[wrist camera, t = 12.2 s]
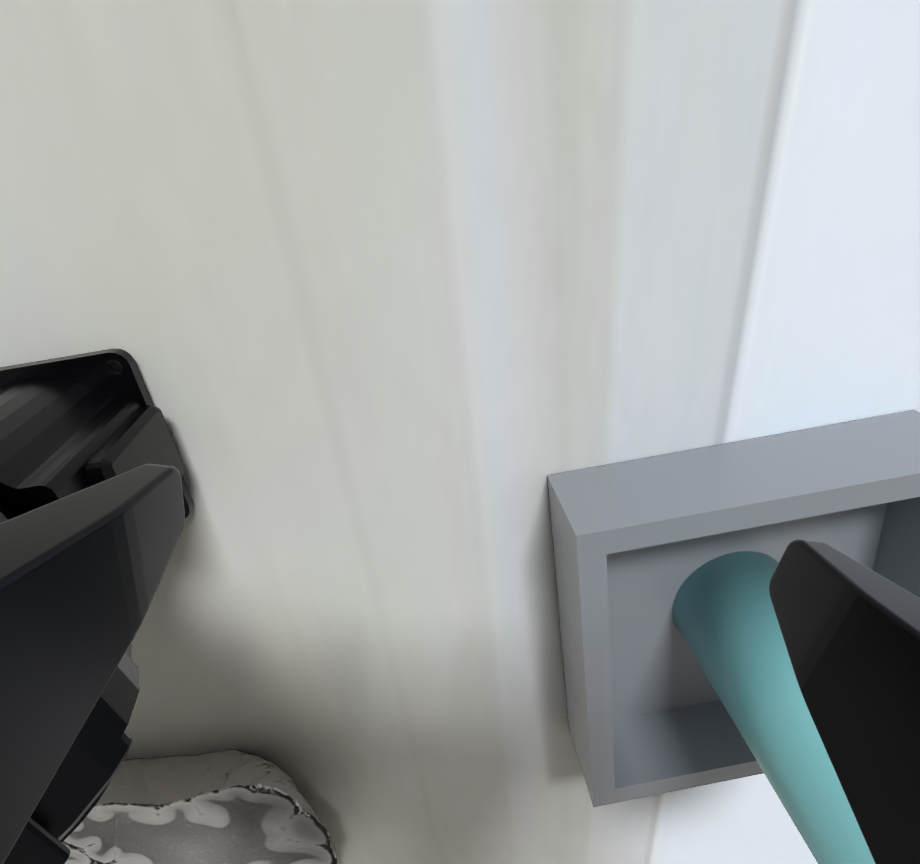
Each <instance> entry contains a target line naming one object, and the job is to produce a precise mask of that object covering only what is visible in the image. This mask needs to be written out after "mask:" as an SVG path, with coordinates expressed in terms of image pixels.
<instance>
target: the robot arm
mask: <svg viewBox="0 0 920 864" xmlns="http://www.w3.org/2000/svg"><path fill="white" fill-rule="evenodd" d="M111 360H116V361H118V362H120V364H121V365H122V368H123V371H120V370H116V369H115V368H113V366H112V365H111ZM184 472H185V468H184V466H183V463H182V461H181V458H180V456H179V453H178V451H177V448H176V446H175V444H174V441H173V439H172V436H171V434H170V431H169V429H168V426H167V424H166V421H165V419H164V417H163V414H162V412H161V410H160V409H159V408H157V407H156V406H154V405H153V404H152V402H151V399H150V397H149V394H148V392H147V389H146V387H145V385H144V382H143V380H142V377H141V375H140V373H139V370H138V368H137V365H136V363H135V360H134V359H133V357H132V356H131V355H130V354H129V353H128V352H126V351H124V350H121V349H108V350H102V351H96V352H91V353H85V354H79V355H73V356H67V357H61V358H55V359H49V360H43V361H37V362H31V363H25V364H19V365H13V366H7V367H1V368H0V864H65V862H66V861H67V859H68V857H69V856H70V849H69V848H68V847H67V846H66V845H65V844H64V843H62V842H63V841H64V840H65V839H66V838H67V837H68V836H69V835H70V834H71V833H72V832H73V831H74V830H75V829H76V828H77V827H78V826H79V825H80V824H81V823H82V821H83V820H84V819H85V818H86V816H87V815H88V814H89V813H90V811H91V810H92V809H93V807H94V806H95V805H96V804H97V802H98V801H99V799H100V798H101V796H102V795H103V793H104V791H105V790H106V788H107V787H108V785H109V783H110V782H111V780H112V778H113V776H114V775H115V773H116V771H117V770H118V768H119V767H120V765H121V763H122V762H123V760H124V759H125V757H126V755H127V753H128V750H129V747H130V744H131V741H132V738H131V735H130V734H129V733H128V732H127V731H126V730H125V729H126V727H127V725H128V722H129V719H130V716H131V713H132V711H133V708H134V705H135V702H136V699H137V696H138V693H139V678H138V666H137V665H136V664H135V663H134V662H133V661H132V660H131V647H132V646H131V644H130V643H131V642H132V640H133V638H134V636H135V635H136V633H137V631H138V629H139V627H140V625H141V623H142V621H143V619H144V617H145V615H146V613H147V611H148V609H149V606H150V604H151V602H152V599H153V597H154V595H155V592H156V590H157V588H158V586H159V583H160V581H161V579H162V576H163V574H164V572H165V569H166V567H167V565H168V562H169V560H170V558H171V556H172V553H173V551H174V549H175V546H176V544H177V542H178V539H179V537H180V535H181V532H182V530H183V526H184V521H185V518H186V517H187V516H188V515H189V514H190V512H191V510H192V507H193V501H192V499H191V496H190V494H189V491H188V489H187V486H186V484H185V482H184V479H183V477H182V476H183V474H184ZM769 594H770V598H771V602H772V605H773V608H774V611H775V614H776V617H777V620H778V623H779V627H780V630H781V633H782V636H783V639H784V642H785V645H786V648H787V652H788V655H789V658H790V661H791V664H792V667H793V670H794V673H795V676H796V679H797V682H798V685H799V688H800V691H801V693H802V695H803V698H804V700H805V703H806V705H807V708H808V710H809V712H810V715H811V717H812V719H813V722H814V724H815V726H816V729H817V731H818V733H819V735H820V738H821V740H822V742H823V745H824V747H825V749H826V752H827V754H828V756H829V758H830V761H831V763H832V765H833V768H834V770H835V772H836V775H837V777H838V779H839V781H840V784H841V786H842V788H843V791H844V793H845V795H846V798H847V800H848V802H849V805H850V807H851V809H852V811H853V814H854V816H855V818H856V821H857V823H858V825H859V828H860V830H861V832H862V834H863V837H864V839H865V841H866V844H867V846H868V848H869V851H870V853H871V855H872V858H873V860H874V862H875V864H920V598H919V597H917V596H915V595H913V594H912V593H910V592H908V591H907V590H905V589H903V588H902V587H900V586H898V585H896V584H895V583H893V582H891V581H890V580H888V579H886V578H884V577H883V576H881V575H879V574H878V573H876V572H874V571H873V570H871V569H869V568H867V567H866V566H864V565H862V564H861V563H859V562H857V561H855V560H854V559H852V558H850V557H849V556H847V555H845V554H843V553H842V552H840V551H838V550H837V549H835V548H833V547H832V546H830V545H828V544H826V543H824V542H821V541H814V540H805V539H796V540H793V541H791V542H790V543H789V544H788V546H787V547H786V549H785V551H784V553H783V555H782V557H781V559H780V561H779V563H778V565H777V567H776V569H775V571H774V573H773V575H772V577H771V580H770V584H769Z"/></svg>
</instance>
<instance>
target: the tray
mask: <svg viewBox="0 0 920 864" xmlns="http://www.w3.org/2000/svg"><path fill="white" fill-rule="evenodd" d="M547 478H548V489H549V501H550V513H551V524H552V536H553V548H554V559H555V571H556V582H557V594H558V606H559V617H560V629H561V641H562V652H563V664H564V675H565V687H566V699H567V710H568V722H569V729H570V733H571V736H572V739H573V742H574V745H575V749H576V752H577V755H578V758H579V762H580V765H581V768H582V771H583V775H584V778H585V781H586V784H587V788H588V791H589V794H590V797H591V801H592V804H593V807H596V806H601V805H606V804H611V803H616V802H621V801H626V800H631V799H636V798H641V797H646V796H651V795H656V794H661V793H666V792H671V791H676V790H681V789H686V788H691V787H696V786H702V785H707V784H712V783H717V782H722V781H727V780H732V779H737V778H742V777H747V776H752V775H757V774H762V773H764V772H763V770H762V769H761V767H760V765H759V764H758V762H757V760H756V758H755V757H754V755H753V753H752V752H751V750H750V748H749V747H748V745H747V743H746V742H745V740H744V738H743V737H742V735H741V733H740V732H739V730H738V728H737V727H736V725H735V723H734V722H733V720H732V718H731V717H730V715H729V713H728V712H727V710H726V708H725V707H724V705H723V703H722V701H721V700H720V698H719V696H718V695H717V693H716V691H715V690H714V688H713V686H712V685H711V683H710V681H709V680H708V678H707V676H706V675H705V673H704V671H703V670H702V668H701V666H700V665H699V663H698V661H697V660H696V658H695V656H694V655H693V653H692V651H691V650H690V648H689V646H688V645H687V643H686V641H685V639H684V638H683V636H682V634H681V633H680V631H679V629H678V628H677V626H676V624H675V622H674V619H673V611H672V608H673V602H674V599H675V596H676V594H677V592H678V590H679V588H680V586H681V585H682V584H683V582H684V581H685V580H686V579H687V578H688V577H689V576H690V575H691V573H693V572H694V571H695V570H696V569H697V568H699V567H700V566H702V565H703V564H705V563H707V562H708V561H710V560H712V559H714V558H717V557H719V556H722V555H725V554H729V553H733V552H740V551H753V552H759V553H764V554H766V555H768V556H770V557H772V558H774V559H775V560H776V561H777V562H779V561H780V559H781V557H782V555H783V553H784V551H785V549H786V547H787V546H788V544H789V543H790V542H791V541H793V540H796V539H805V540H814V541H821V542H824V543H826V544H828V545H830V546H832V547H833V548H835V549H837V550H838V551H840V552H842V553H843V554H845V555H847V556H849V557H850V558H852V559H854V560H855V561H857V562H859V563H861V564H862V565H864V566H866V567H867V568H869V569H871V570H873V571H874V572H876V573H878V574H879V575H881V576H883V577H884V578H886V579H888V580H890V581H891V582H893V583H895V584H896V585H898V586H900V587H902V588H903V589H905V590H907V591H908V592H910V593H912V594H913V595H915V596H917V597H919V598H920V413H919V412H917V411H915V410H910V411H905V412H899V413H893V414H888V415H882V416H877V417H871V418H865V419H860V420H854V421H849V422H843V423H838V424H832V425H826V426H821V427H815V428H810V429H804V430H798V431H793V432H787V433H782V434H776V435H770V436H765V437H759V438H754V439H748V440H743V441H737V442H731V443H726V444H720V445H715V446H709V447H703V448H698V449H692V450H687V451H681V452H675V453H670V454H664V455H659V456H653V457H648V458H642V459H636V460H631V461H625V462H620V463H614V464H608V465H603V466H597V467H592V468H586V469H581V470H575V471H569V472H564V473H558V474H553V475H547Z"/></svg>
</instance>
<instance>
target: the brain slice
mask: <svg viewBox="0 0 920 864" xmlns="http://www.w3.org/2000/svg"><path fill="white" fill-rule="evenodd" d="M239 753H241V754H239ZM243 754H246V753H244V752H240V751H237V750H225V751H219V752H211V753H205V754H201V755H198V756H171V757H161V758H157V759H133V760H124V761H123V762H122V763H121V765H120V767H119V768H118V770H117V771H116V773H115V775H114V776H113V778H112V780H111V782H110V783H109V785H108V787H107V788H106V790H105V791H104V793H103V795H102V796H101V798H100V799H99V801H98V802H97V804H96V805H95V806H94V807H93V809H92V810H91V811H90V813H89V814H88V815H87V816H86V818H85V819H84V820H83V821H82V823H81V824H80V825H79V826H78V827H77V828H76V829H75V830H74V831H73V832H72V833H71V834H70V835H69V836H68V837H67V838H66V839H65V840H64V841H63V842H62V843H64V844H65V845H66V846H67V847H68V848H69V849H70V856H69V857H68V859H67V861H66V862H65V864H336V863H337V859H336V852H335V849H334V846H333V843H332V841H331V836H330V834H329V833H328V831H327V830H326V829H325V828H324V826H323V824H322V822H321V821H320V820H319V819H318V817H317V816H316V814H315V812H314V810H313V808H312V807H311V806H310V805H309V803H308V802H307V801H306V800H305V798H304V797H302V795H301V792H300V791H299V789H298V788H297V787H296V786H295V784H294V782H293V780H292V778H291V777H290V776H289V775H288V774H287V773H285V772H284V771H282V770H281V769H279V768H278V767H277V766H276V765H275V764H273V763H272V762H270V761H265V759H263V758H261V757H259V756H255V755H249V754H246V755H243Z"/></svg>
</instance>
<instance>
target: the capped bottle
mask: <svg viewBox="0 0 920 864" xmlns="http://www.w3.org/2000/svg"><path fill="white" fill-rule="evenodd" d="M778 563H779V562H777V561H776V560H775V559H774V558H772V557H770V556H768V555H766V554H764V553H759V552H753V551H740V552H733V553H729V554H725V555H722V556H719V557H717V558H714V559H712V560H710V561H708V562H707V563H705V564H703V565H702V566H700V567H699V568H697V569H696V570H695V571H694V572H693V573H691V575H690V576H689V577H688V578H687V579H686V580H685V581H684V582H683V584H682V585H681V586H680V588H679V590H678V592H677V594H676V596H675V599H674V602H673V608H672V611H673V619H674V622H675V624H676V626H677V628H678V629H679V631H680V633H681V634H682V636H683V638H684V639H685V641H686V643H687V645H688V646H689V648H690V650H691V651H692V653H693V655H694V656H695V658H696V660H697V661H698V663H699V665H700V666H701V668H702V670H703V671H704V673H705V675H706V676H707V678H708V680H709V681H710V683H711V685H712V686H713V688H714V690H715V691H716V693H717V695H718V696H719V698H720V700H721V701H722V703H723V705H724V707H725V708H726V710H727V712H728V713H729V715H730V717H731V718H732V720H733V722H734V723H735V725H736V727H737V728H738V730H739V732H740V733H741V735H742V737H743V738H744V740H745V742H746V743H747V745H748V747H749V748H750V750H751V752H752V753H753V755H754V757H755V758H756V760H757V762H758V764H759V765H760V767H761V769H762V770H763V772H764V774H765V775H766V777H767V779H768V780H769V782H770V784H771V785H772V787H773V789H774V790H775V792H776V794H777V795H778V797H779V799H780V800H781V802H782V804H783V805H784V807H785V809H786V810H787V812H788V814H789V815H790V817H791V819H792V821H793V822H794V824H795V826H796V827H797V829H798V831H799V832H800V834H801V836H802V837H803V839H804V841H805V842H806V844H807V846H808V847H809V849H810V851H811V852H812V854H813V856H814V857H815V859H816V861H817V862H818V864H875V862H874V860H873V858H872V855H871V853H870V851H869V848H868V846H867V844H866V841H865V839H864V837H863V834H862V832H861V830H860V828H859V825H858V823H857V821H856V818H855V816H854V814H853V811H852V809H851V807H850V805H849V802H848V800H847V798H846V795H845V793H844V791H843V788H842V786H841V784H840V781H839V779H838V777H837V775H836V772H835V770H834V768H833V765H832V763H831V761H830V758H829V756H828V754H827V752H826V749H825V747H824V745H823V742H822V740H821V738H820V735H819V733H818V731H817V729H816V726H815V724H814V722H813V719H812V717H811V715H810V712H809V710H808V708H807V705H806V703H805V700H804V698H803V695H802V693H801V691H800V688H799V685H798V682H797V679H796V676H795V673H794V670H793V667H792V664H791V661H790V658H789V655H788V652H787V648H786V645H785V642H784V639H783V636H782V633H781V630H780V627H779V623H778V620H777V617H776V614H775V611H774V608H773V605H772V602H771V598H770V594H769V584H770V580H771V577H772V575H773V573H774V571H775V569H776V567H777V565H778Z"/></svg>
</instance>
